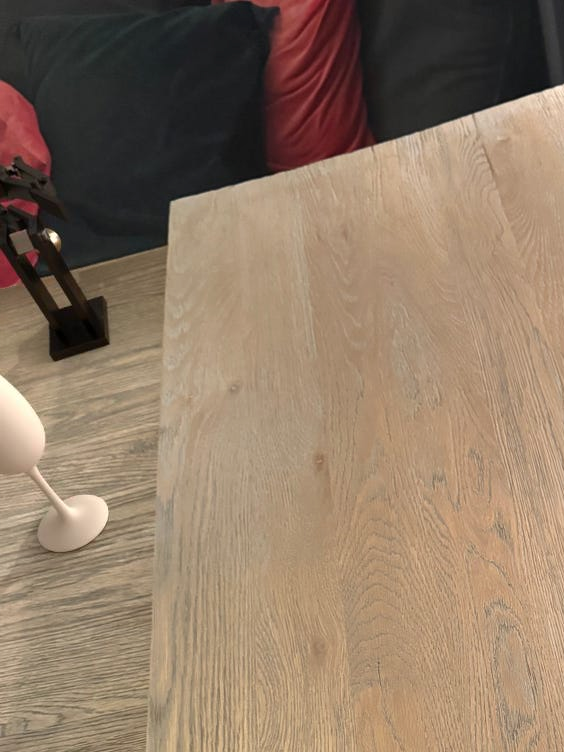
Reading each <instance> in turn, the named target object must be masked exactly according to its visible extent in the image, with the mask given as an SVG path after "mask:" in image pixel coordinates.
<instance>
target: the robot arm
mask: <svg viewBox="0 0 564 752" xmlns="http://www.w3.org/2000/svg"><path fill="white" fill-rule="evenodd" d="M12 161H13V162H10V165H8V166H5V165H4V164H1V163H0V200H2V199H5V200H10V201H14V200H15V199H17V200H20V201H21V200H22V201H24V202H29V203H33V204H37V206H38V207H39V209H40V210H41V211H43V212H45V213H46V214H49V215H50V216H52V217H55V218H57V219H59V220H62V221H63V222H66V223H69V222H71V221H72V217H71V215H70V213H69V212H68V210H67V208H66V207H65V205H64V203H63V201H62V200H60V199H59V198H58V196H57V195H58V194H57V193H58V191H57V190H56V188H55V187H54V185H53V183H52V182H51V180H50V178H49V176H48V175H47V174H45V173H44V172H42V171H40V170H39V169H37V168H35V167H33V166H31V165H30V164H28V163H26V162H25V161H24V159H23V157H22V155H15V156H13V158H12ZM34 215H35V214H34ZM34 215H33V214H31V213H29V212H28V211H25V210H23V209H21V208H20V207H17V206H15V205H13V204H9V205H8V206H6V207H5V206H4V205H3V204H2V203H1V202H0V226H2V225H5V224H6V225H7V226H8V228H9V229H10V231H11V233H12V234H14V233H17V232H20V231H23V230H29V217H31V216H34Z"/></svg>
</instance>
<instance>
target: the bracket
mask: <svg viewBox="0 0 564 752" xmlns="http://www.w3.org/2000/svg"><path fill="white" fill-rule="evenodd" d="M44 228H45V227H44V225H43V223H42V222H41V220H40V219H39V216H38V215H37V214H34V216H31V217H29V237H30V238H31V240H32V241H33V243H34V245H35V246H36V248H37V250H38V251H39V253H38V254H40V256H41V258H42V259H43V261H44V263H45V264H46V266H47V267H48V269H49V270H50V272H51V274H52V275H53V277H54V279H55V280H56V282H57V283H58V286H60V289H61V290H62V292H63V293H64V295H65V297H66V298H67V300H68V301H69V303H70V305H67V306H64V307H61V308H60V307H59V305H58V303H57V302H56V301H55V299H54V297H53V296H52V294H51V293H50V291H49V289H48V287H47V286H46V284H45V283H44V282H43V280H42V278H41V276H40V275H39V274H38V272H37V271H36V269H35V267H34V266H33V265H32V262H31V261H30V260H29V258H28V256H27V254H20V255H18V253H17V251H16V249H15V247H14V244H13V242H12V240H11V238H10V236H9V235H11V234H13V233H11V231H10V229H9V228H8V226H7V225H6V224H5V225H2V226H0V251H1V252H2V254H3V255H4V257H5V258H6V260H7V261H8V263H9V264H10V267H12V269H13V271H14V272H15V273H16V275H17V277H18V279H19V280H20V281H21V282H22V284H23V286H24V287H25V289H26V290H27V292H28V294H29V295H30V296H31V298H32V299H33V301H34V303H35V304H36V305H37V307H38V308H39V310H40V313H42V315H43V316H44V318H45V319H46V321H47V322H48V353H49V354H48V355H49V357H50V358H51V360H52V361H53V362H58V361H61V360H63V359H64V360H65V359H67V358H69V357H73V356H77V355H79V354H83V353H85V352H86V353H87V352H88V351H92V350H95V349H98V348H101V347H104V346H108V345H110V332H109V331H110V330H109V318H108V302H107V300H106V298H105V297H104V295H102V294H101V295H99V296H95V297H93V298H89V299H87V297H86V295H85V294H84V292H83V291H82V289H81V287H80V285H79V283H78V282H77V280H76V278H75V277H74V276H73V273H72V271H71V270H70V269H69V267H68V266H67V264H66V262H65V261H64V258H63V257H62V255H61V254H60V251H59V252H58V250H57V249H56V247H55V245H54V244H53V242H52V240H51V239H50V236H49V234H48V232H47V231H46V230H45V229H44Z"/></svg>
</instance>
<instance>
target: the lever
mask: <svg viewBox="0 0 564 752" xmlns="http://www.w3.org/2000/svg"><path fill="white" fill-rule="evenodd" d="M44 229H45V230H46V231H47V232H48V234H49V236H50V239H51V240H52V242H53V244H54V245H55V247H56V249H57V250H58V252H59V253H60V250H61V248H62V242H61V241H62V240H61V238H60V236H59V235H58V234H57V233H56V232H55V231H54V230H53V229H51V228H46V227H44ZM9 236H10V238H11V240H12V242H13V244H14V247H15V249H16V251H17V253H18V255H20V254H25V255H28V254H31V253H34V252H37V253H38V254H40V253H39V251H38V250H37V248H36V246H35V245H34V243H33V241H32V240H31V238H30V237H29V230H25V229H24V230H23V231H17V232H15V233H12V234H11V235H9Z"/></svg>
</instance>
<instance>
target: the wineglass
mask: <svg viewBox="0 0 564 752" xmlns="http://www.w3.org/2000/svg"><path fill="white" fill-rule="evenodd" d="M42 423H43V422H42V421H41V419H40V417H39V416H38V414H37V413H36V411H35V409H34V408H33V407H32V406H31V404H30V402H28V400H27V399H26V398H25V397H24V396H23V394H22V393H21V392H20V391H19V390H17V388H16V387H15V386H14V385H13V384H11V383H10V382H9V381H8V380H7V379H6V378H5V377H4V376H2V375H1V374H0V475H5V476H11V475H19V474H25V475H26V476H28V477H29V478H30V479H31V480H32V481H33V482H34V483H35V485H36V486H37V487H38V488H39V489H40V490H41V491H42V493H43V494H44V495H45V497H46V498H47V499H48V501H49V502H50V504H51V505H52V507H51V508H50V509H49V510H48V511H47V512H46V513H45V514H44V516H43V517H42V519H41V520H40V522H39V524H38V528H37V540H38V542H39V544H40V545H41V546H42V547H43V548H44V549H46V550H48V551H50V552H56V553H65V552H72V551H75V550H77V549H80V548H82V547H85V546H86V545H88V544H89V543H91V542H92V541H93V540H94V539H96V538H97V537H98V536H99V534H100V533H101V532H102V531H103V530H104V528H105V526H106V524H107V522H108V519H109V507H108V505H107V503H106V501H105V500H104V499H103V498H101V497H99V496H96V495H93V494H77V495H74V496H70V497H68V498H64V499H63V500H62V499H61V498H60V497H59V496H58V495H57V493H56V492H55V491H54V490H53V489H52V488H51V487H50V485H49V484H48V483H47V481H46V480H45V479H44V477H43V476H42V475H41V472H40V471H39V468H38V467H37V464H38V463H39V461H40V460H41V458H42V456H43V454H44V451H45V447H46V432H45V429H44V425H43V424H42Z"/></svg>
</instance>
